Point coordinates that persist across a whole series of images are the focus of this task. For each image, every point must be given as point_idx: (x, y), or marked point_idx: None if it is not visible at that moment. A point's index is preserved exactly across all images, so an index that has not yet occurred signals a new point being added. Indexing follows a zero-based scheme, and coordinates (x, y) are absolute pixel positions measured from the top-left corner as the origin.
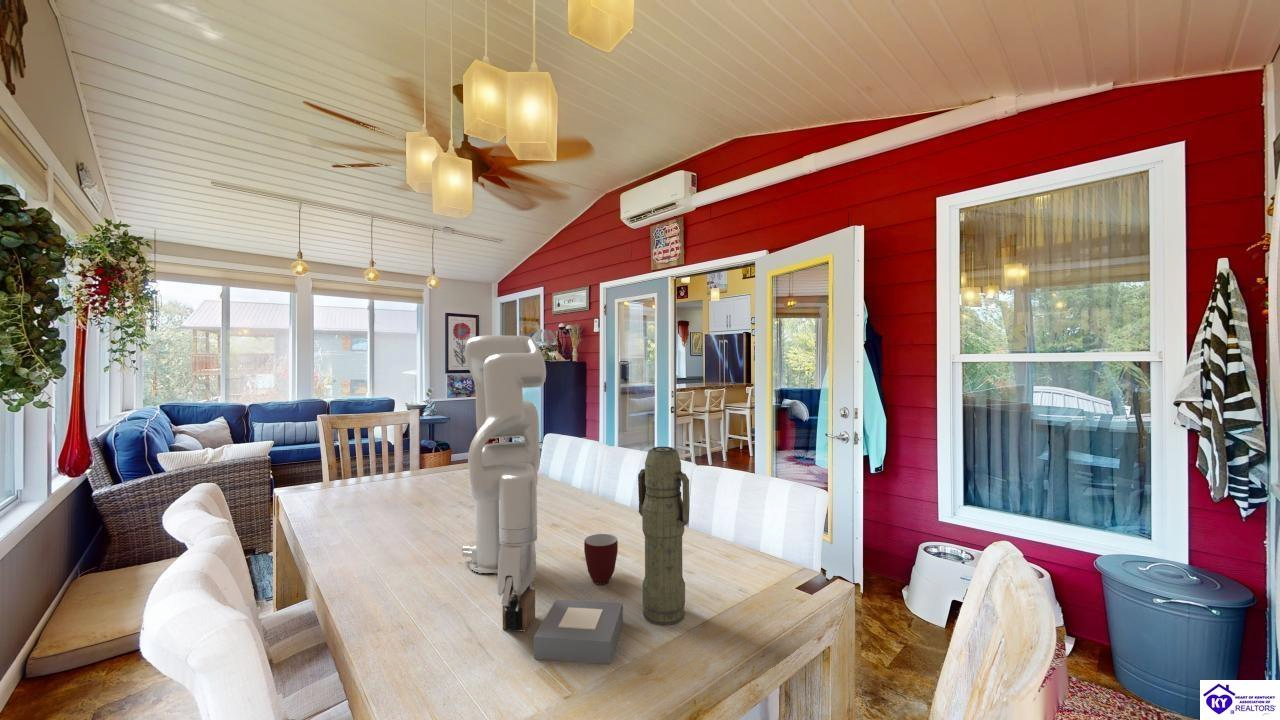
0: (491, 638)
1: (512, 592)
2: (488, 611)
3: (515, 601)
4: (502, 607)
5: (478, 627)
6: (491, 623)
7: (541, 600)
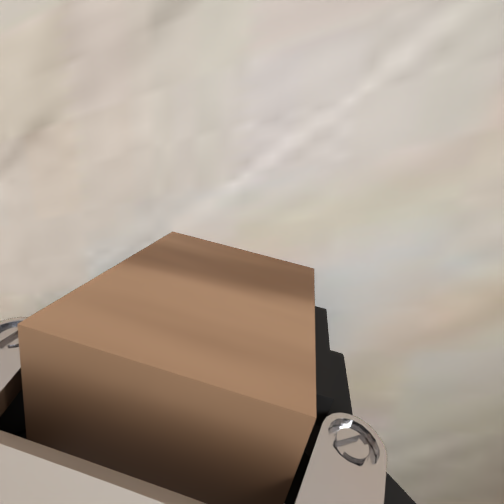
0: (89, 184)
1: (191, 421)
2: (430, 78)
3: (32, 432)
4: (83, 285)
5: (199, 63)
6: (243, 147)
7: (490, 421)
